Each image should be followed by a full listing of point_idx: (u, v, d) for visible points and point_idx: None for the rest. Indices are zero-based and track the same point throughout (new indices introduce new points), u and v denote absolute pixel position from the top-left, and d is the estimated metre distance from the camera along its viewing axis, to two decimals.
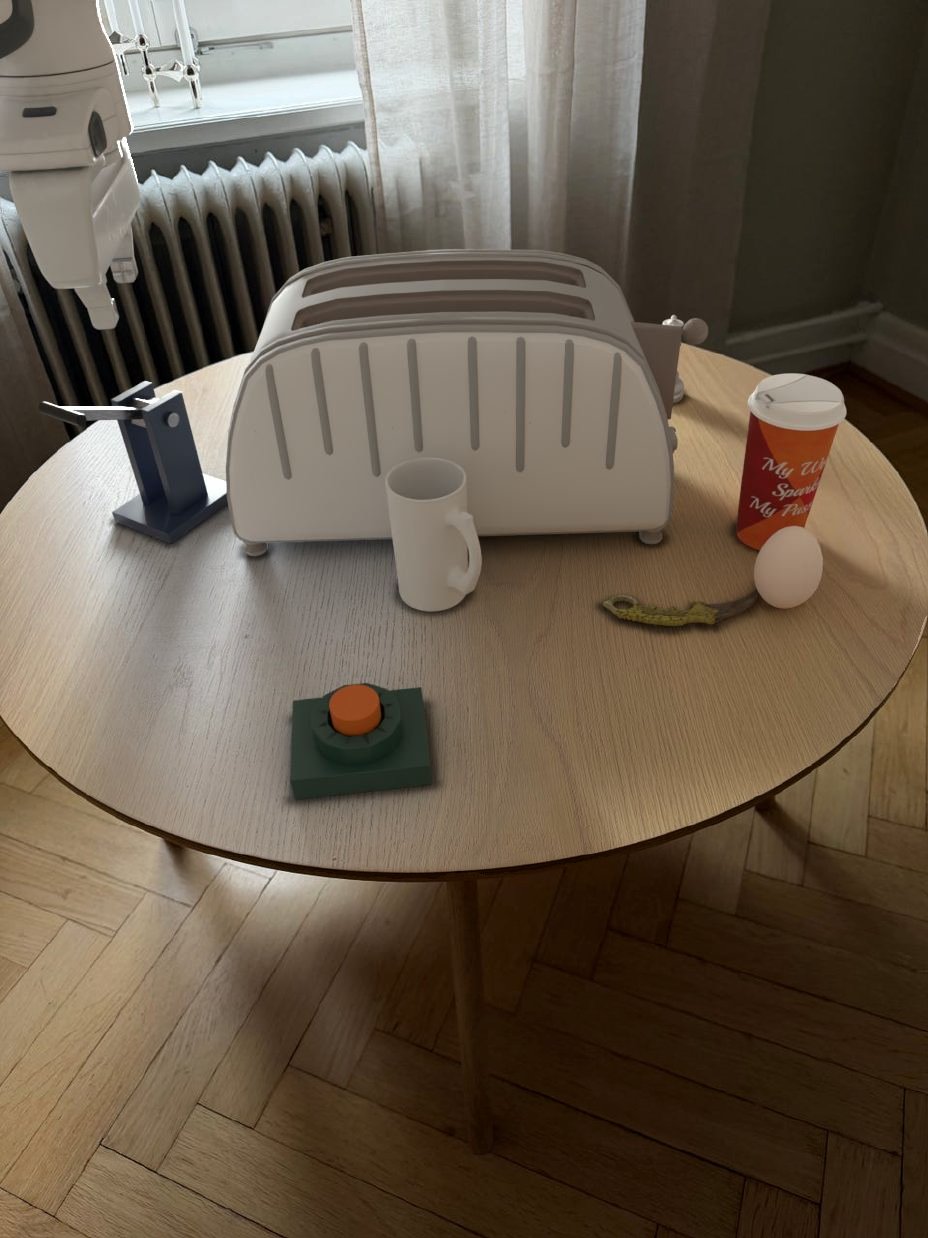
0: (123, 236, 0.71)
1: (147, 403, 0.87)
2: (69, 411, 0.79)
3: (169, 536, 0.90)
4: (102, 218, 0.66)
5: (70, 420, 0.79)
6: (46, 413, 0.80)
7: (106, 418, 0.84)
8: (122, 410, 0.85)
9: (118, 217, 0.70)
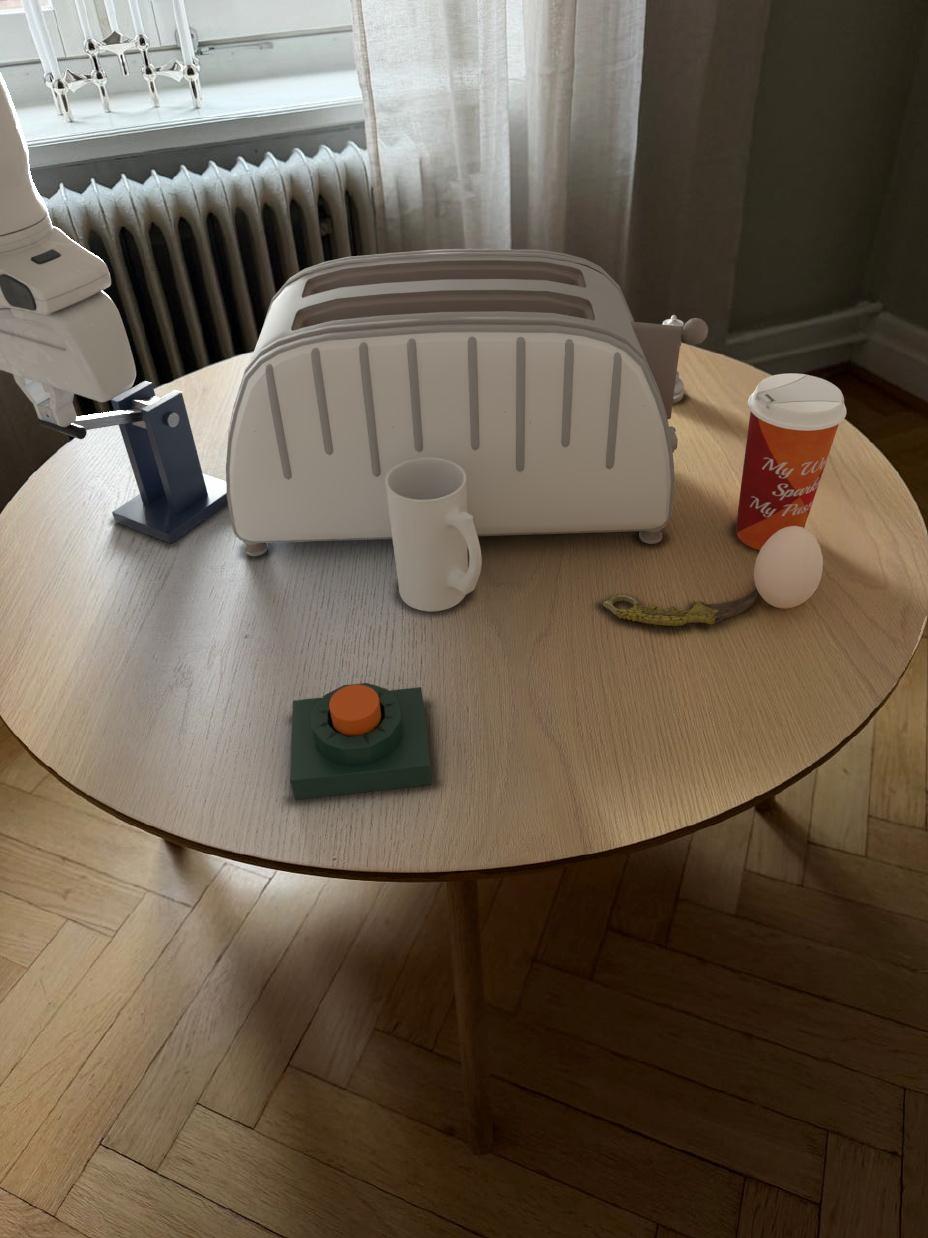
0: None
1: (146, 405, 0.87)
2: None
3: (169, 536, 0.90)
4: None
5: (70, 433, 0.79)
6: (46, 426, 0.81)
7: (106, 425, 0.84)
8: (122, 415, 0.85)
9: None
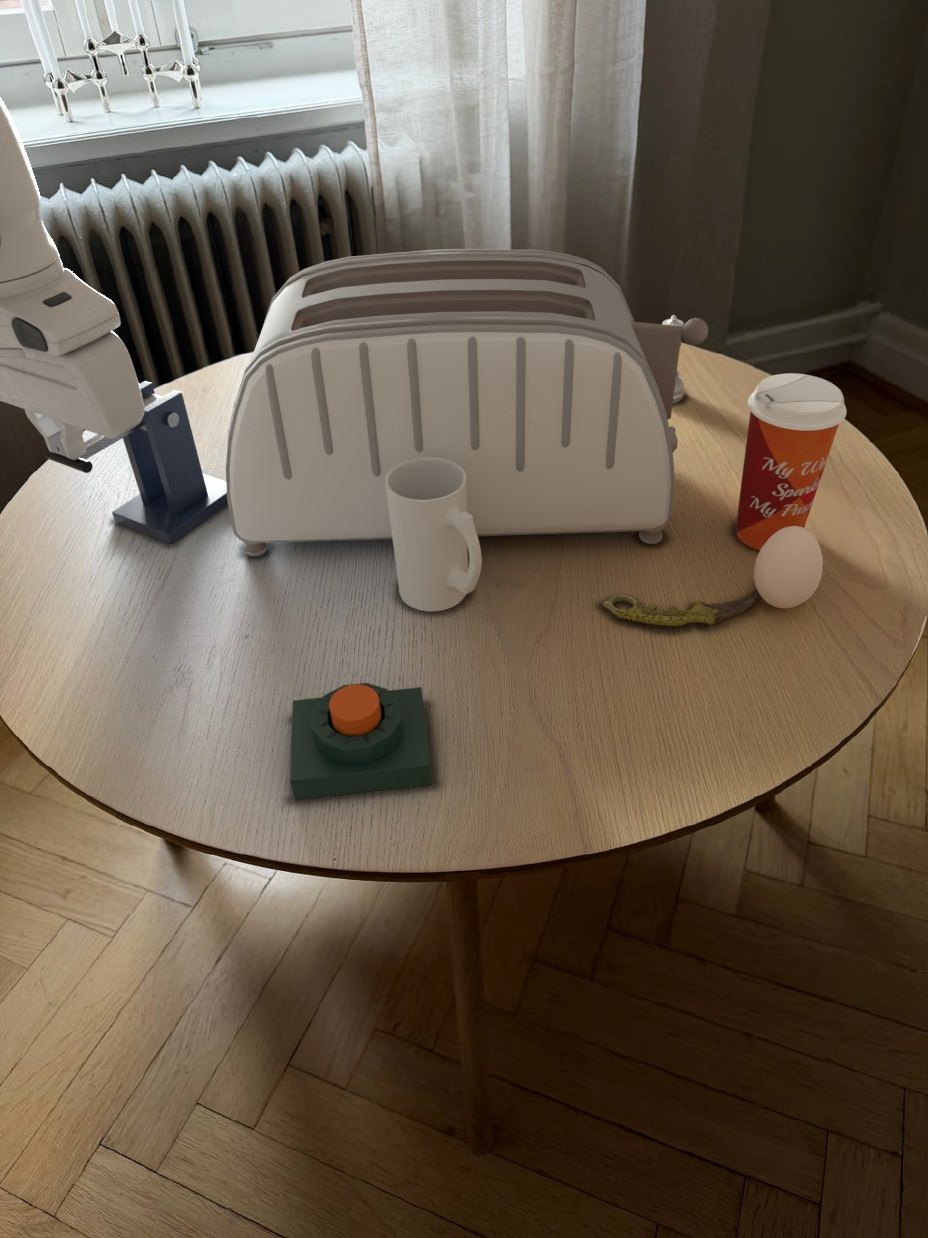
0: None
1: None
2: None
3: (169, 536, 0.90)
4: None
5: (77, 469, 0.81)
6: None
7: (110, 443, 0.85)
8: None
9: None
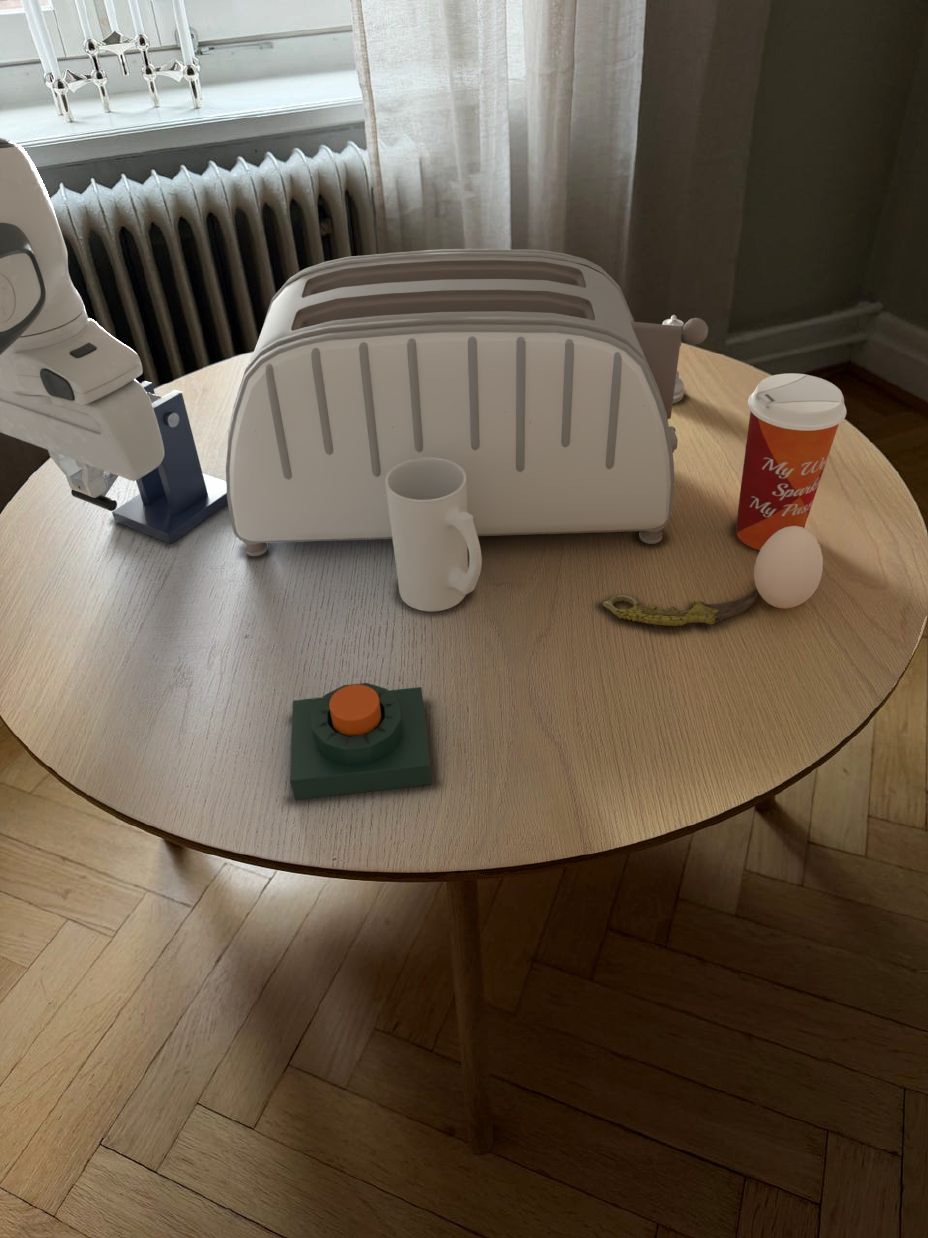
0: None
1: None
2: (98, 500, 0.85)
3: (169, 536, 0.90)
4: None
5: (104, 508, 0.85)
6: (82, 499, 0.87)
7: None
8: None
9: None
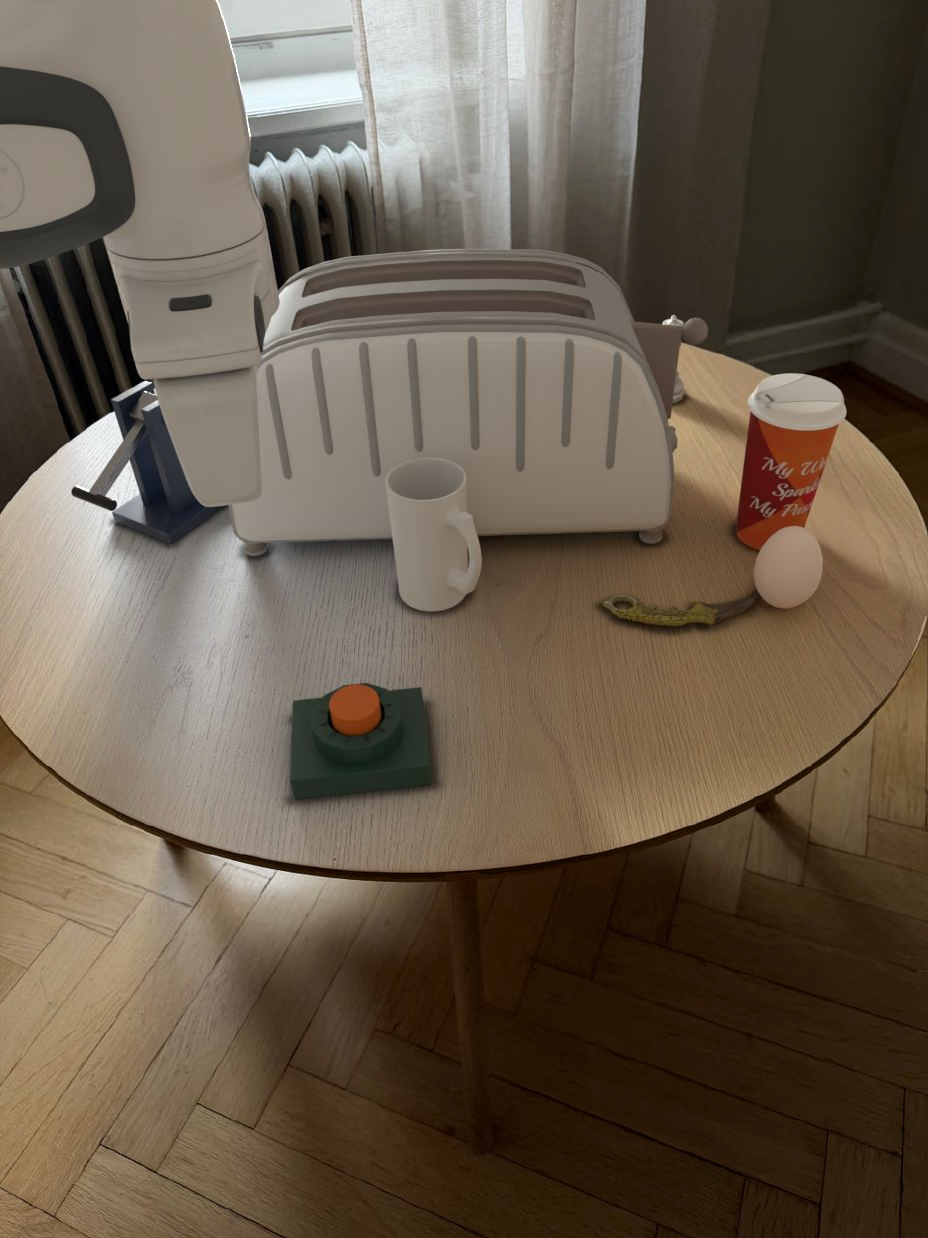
0: None
1: (143, 419, 0.87)
2: (98, 500, 0.85)
3: (169, 536, 0.90)
4: None
5: (104, 508, 0.85)
6: (82, 499, 0.87)
7: (125, 464, 0.87)
8: (130, 445, 0.87)
9: None
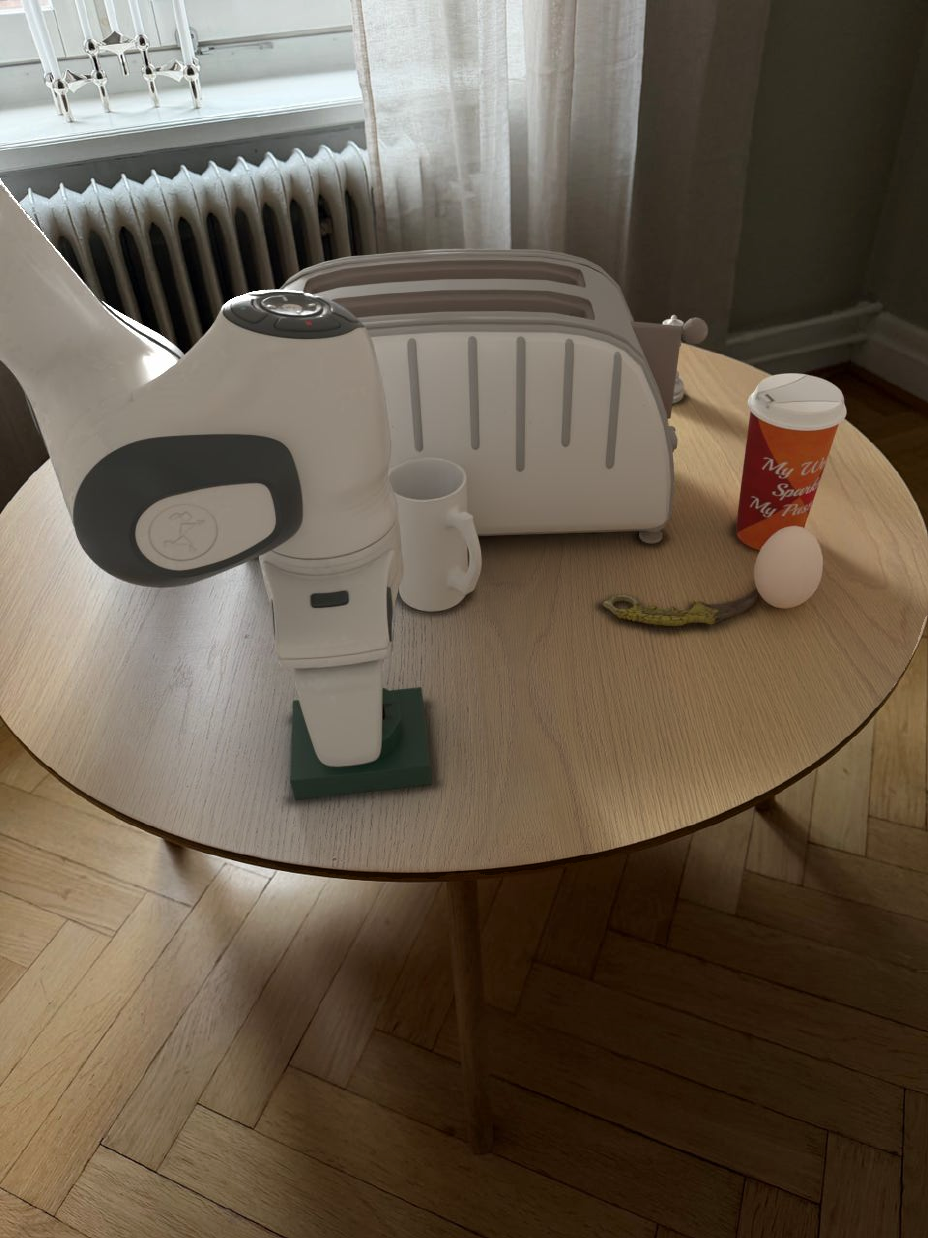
0: None
1: None
2: None
3: None
4: None
5: None
6: None
7: None
8: None
9: None
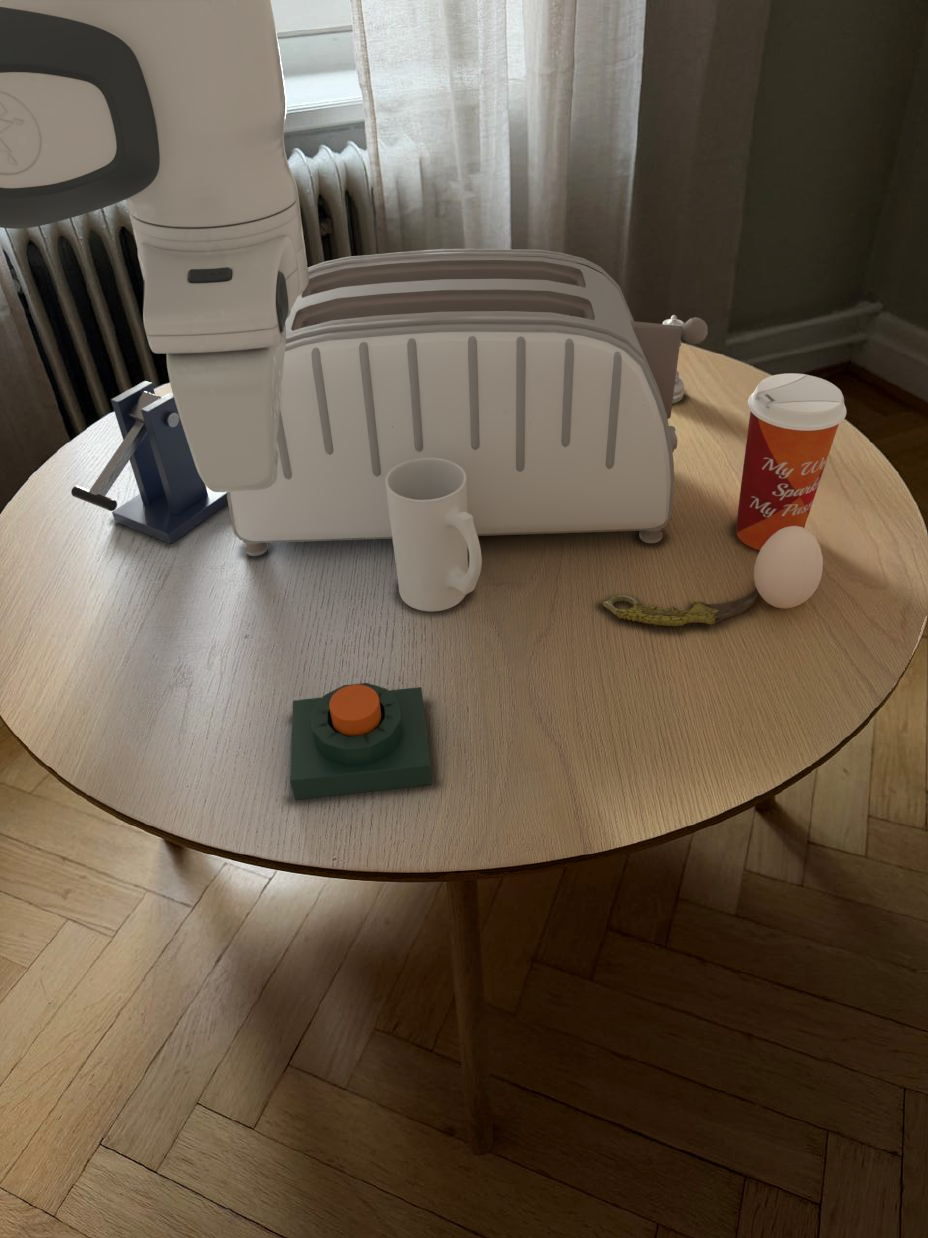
0: None
1: (143, 419, 0.87)
2: (98, 500, 0.85)
3: (169, 536, 0.90)
4: None
5: (104, 508, 0.85)
6: (82, 499, 0.87)
7: (125, 464, 0.87)
8: (130, 445, 0.87)
9: (277, 379, 0.55)
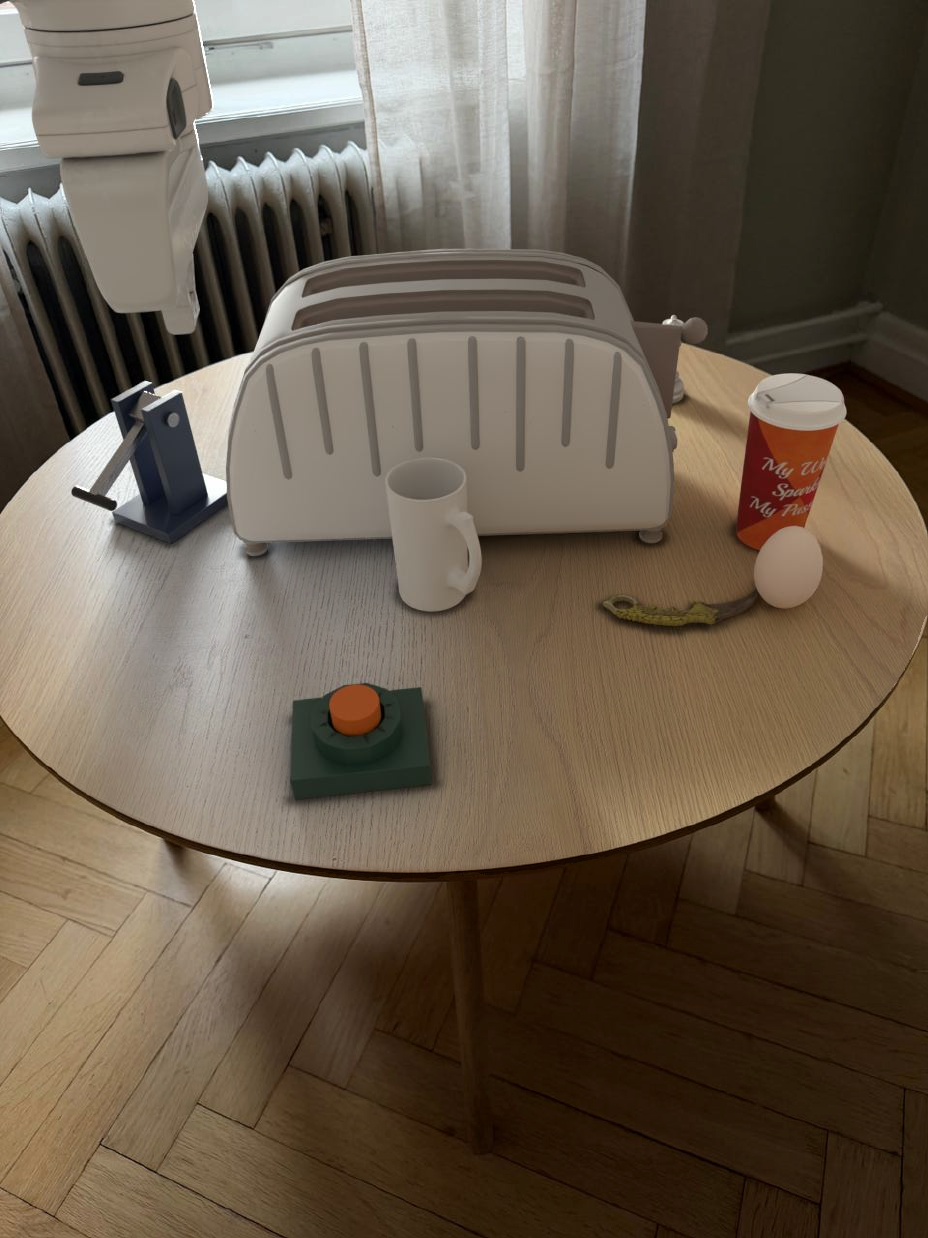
0: None
1: (143, 419, 0.87)
2: (98, 500, 0.85)
3: (169, 536, 0.90)
4: (175, 220, 0.51)
5: (104, 508, 0.85)
6: (82, 499, 0.87)
7: (125, 464, 0.87)
8: (130, 445, 0.87)
9: (190, 219, 0.55)
